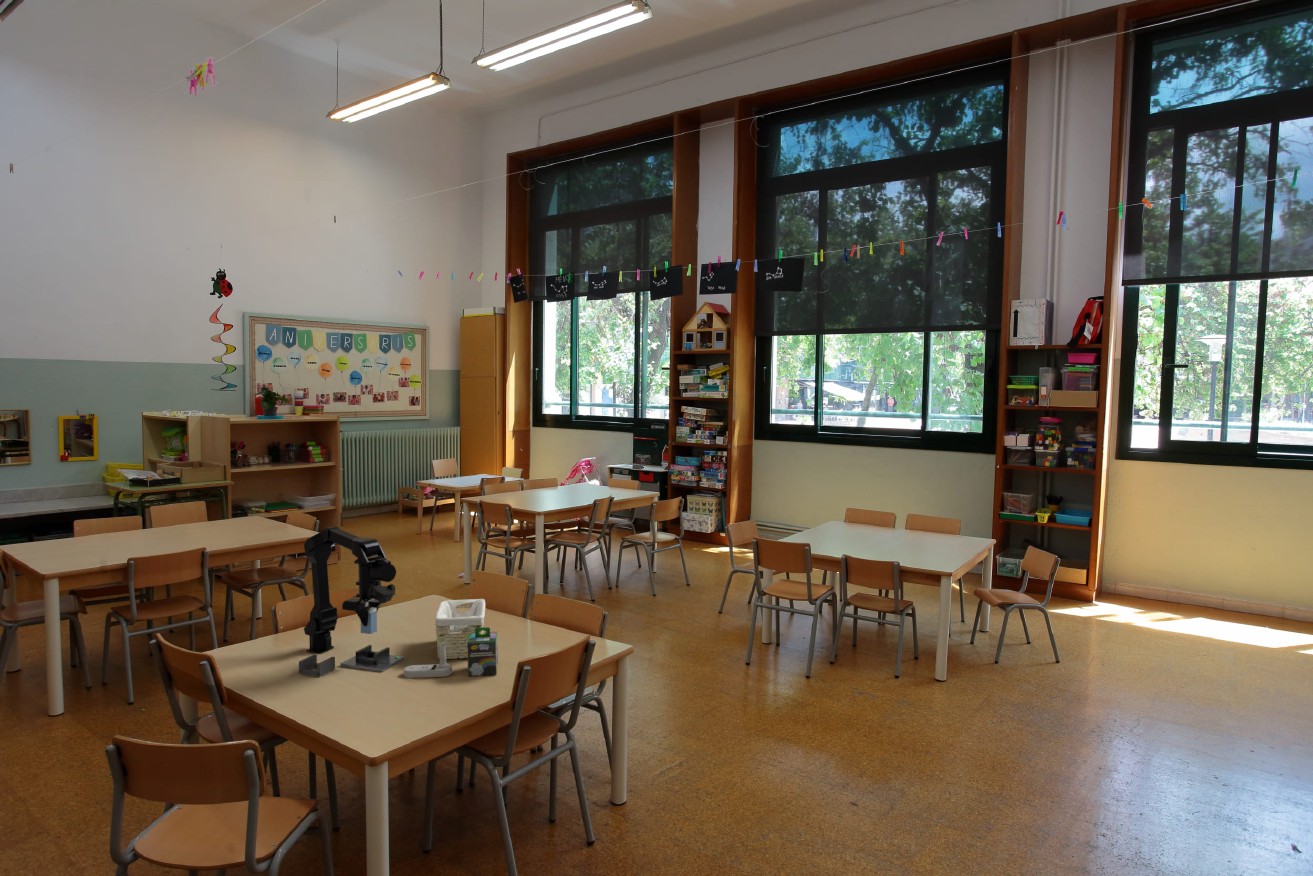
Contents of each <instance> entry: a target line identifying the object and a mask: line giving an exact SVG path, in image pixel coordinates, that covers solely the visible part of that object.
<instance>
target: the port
mask: <svg viewBox="0 0 1313 876" xmlns="http://www.w3.org/2000/svg"><path fill="white" fill-rule="evenodd" d="M372 647H373V646H372V645H371V644H369V645H367V646H364V647H362V648H360V649H358V650H356V651H355V655H354V656H352V657H350V658H348V659H346V660H344V661H342V662H340V663H339V666H340V667H342V668H349V669H350V668H351V669H358V670H364V671H365V670H366V671H372V672H379V673H384V672H385V671H387V670H388V669H390V668H392V667H394V666H396V665H397V664H399V663H401V662H402V661H405V656H402V655H401V656H400V655H394V654H390V647H387V646H386V647H385V648H382V649H381V650H379V651H372V650H373V648H372Z"/></svg>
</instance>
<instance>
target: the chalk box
mask: <svg viewBox="0 0 1313 876" xmlns="http://www.w3.org/2000/svg"><path fill="white" fill-rule="evenodd" d="M481 630H483V631H484V632H482V633H479V632H480V631H481ZM467 648H468V658H467V676H468V677H479V676H480V677H481V676H484V677H485V676H487V677H488V676H497V674H498V666H499V656H498V654H499V651H498V631H491V628H490V626H489V627H488V626H487V627H486V626H485V627H484V626H483V627H482V628H475V633H471V634H470V635H469V639H468V643H467Z"/></svg>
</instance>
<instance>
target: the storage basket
mask: <svg viewBox="0 0 1313 876" xmlns="http://www.w3.org/2000/svg"><path fill="white" fill-rule="evenodd" d="M458 609H468V610H465V611H463V612H460V613H458ZM485 614H486V599H484V598H477V599H475V598H472V599H454V600H453V599H451V600H449V599H447V600H444V601H441V602H440V603H439V605H438V607H437V611H436V613H435V621H434V623H435V624H434V625H435V634H436V644H437V645H436V651H437V652H436V653H437V659H439V660H440V646H439V645H441V644H445V650H446V660H450V659H454V660H455V659H462V660H463V659H468V648H467V643H468V639H469V635H470V634H471V633H475V628H482V627H484V622H485V621H484V620H485ZM482 632H485V631H484V630H481V631H480V632H479V633H482Z"/></svg>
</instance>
